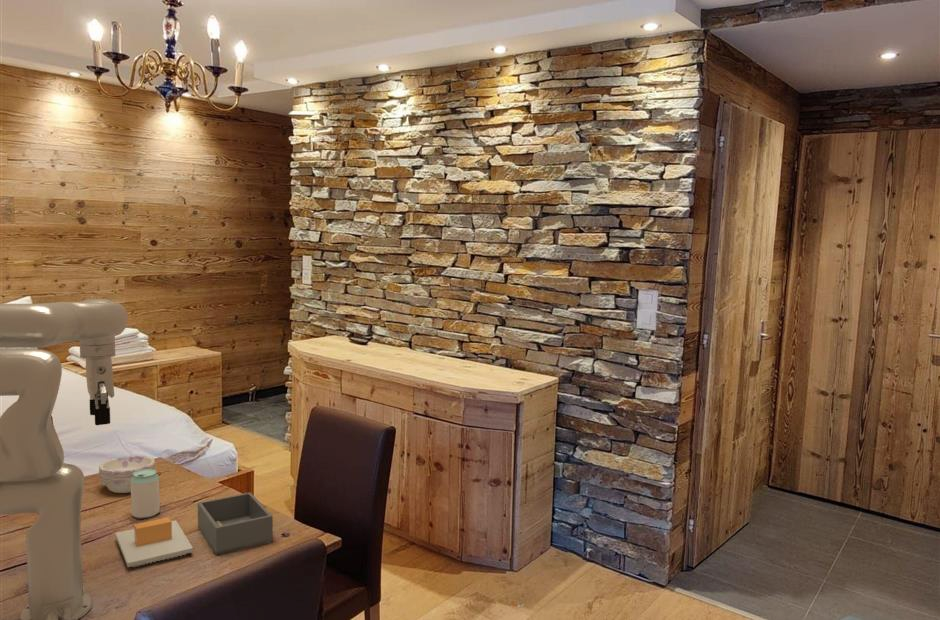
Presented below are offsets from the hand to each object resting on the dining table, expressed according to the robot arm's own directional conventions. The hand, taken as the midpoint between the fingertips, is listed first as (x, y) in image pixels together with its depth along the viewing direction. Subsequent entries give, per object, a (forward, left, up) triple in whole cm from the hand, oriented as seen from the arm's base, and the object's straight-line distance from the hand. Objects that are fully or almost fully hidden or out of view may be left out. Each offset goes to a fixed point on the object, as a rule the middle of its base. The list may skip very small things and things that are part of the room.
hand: (99, 419), depth 165 cm
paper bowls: (+37, -11, -33) cm, 51 cm away
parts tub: (-11, -29, -32) cm, 45 cm away
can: (+14, -12, -32) cm, 37 cm away
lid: (-8, -10, -32) cm, 35 cm away
